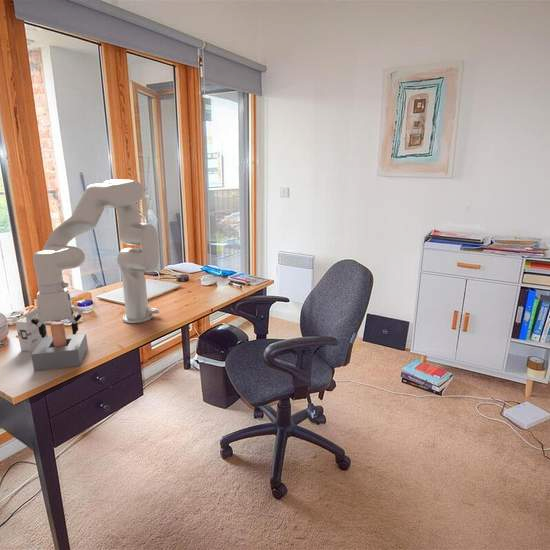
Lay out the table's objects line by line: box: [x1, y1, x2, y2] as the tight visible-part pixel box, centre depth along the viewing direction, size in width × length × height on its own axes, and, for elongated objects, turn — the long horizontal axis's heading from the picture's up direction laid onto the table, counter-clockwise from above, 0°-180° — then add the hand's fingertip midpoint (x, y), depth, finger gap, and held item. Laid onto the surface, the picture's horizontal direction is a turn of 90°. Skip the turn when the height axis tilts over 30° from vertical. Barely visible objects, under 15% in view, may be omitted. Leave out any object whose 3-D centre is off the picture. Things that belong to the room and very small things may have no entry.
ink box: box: [14, 308, 49, 353], centre depth 145 cm, size 9×5×15 cm, turn 170°
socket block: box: [30, 332, 89, 372], centre depth 137 cm, size 14×14×6 cm
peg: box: [50, 321, 67, 347], centre depth 136 cm, size 4×4×13 cm
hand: (59, 334), depth 136 cm, fingers open, 9 cm apart
